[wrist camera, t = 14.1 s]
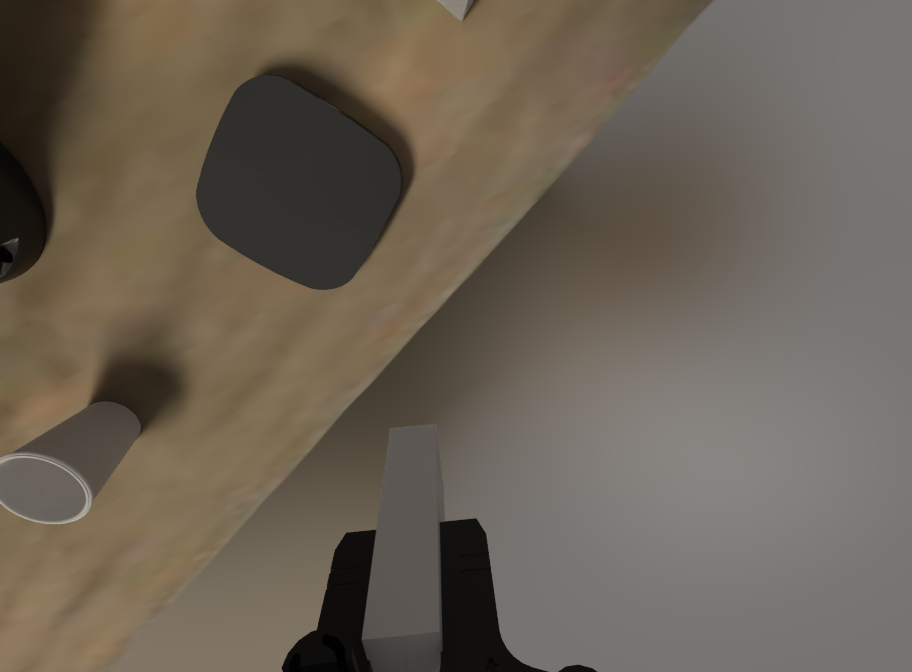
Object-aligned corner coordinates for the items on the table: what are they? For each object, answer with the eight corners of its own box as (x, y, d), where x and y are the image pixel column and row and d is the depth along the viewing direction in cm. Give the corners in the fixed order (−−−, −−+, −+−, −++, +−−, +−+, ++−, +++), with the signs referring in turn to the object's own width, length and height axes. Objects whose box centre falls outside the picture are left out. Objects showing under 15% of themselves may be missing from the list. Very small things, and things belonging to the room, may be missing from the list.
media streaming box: (195, 216, 39) (178, 222, 37) (259, 55, 35) (244, 49, 32) (343, 296, 43) (337, 307, 41) (419, 163, 39) (418, 165, 36)
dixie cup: (159, 455, 50) (100, 527, 41) (80, 450, 49) (1, 523, 40) (147, 393, 46) (78, 457, 37) (61, 387, 46) (-30, 451, 37)
